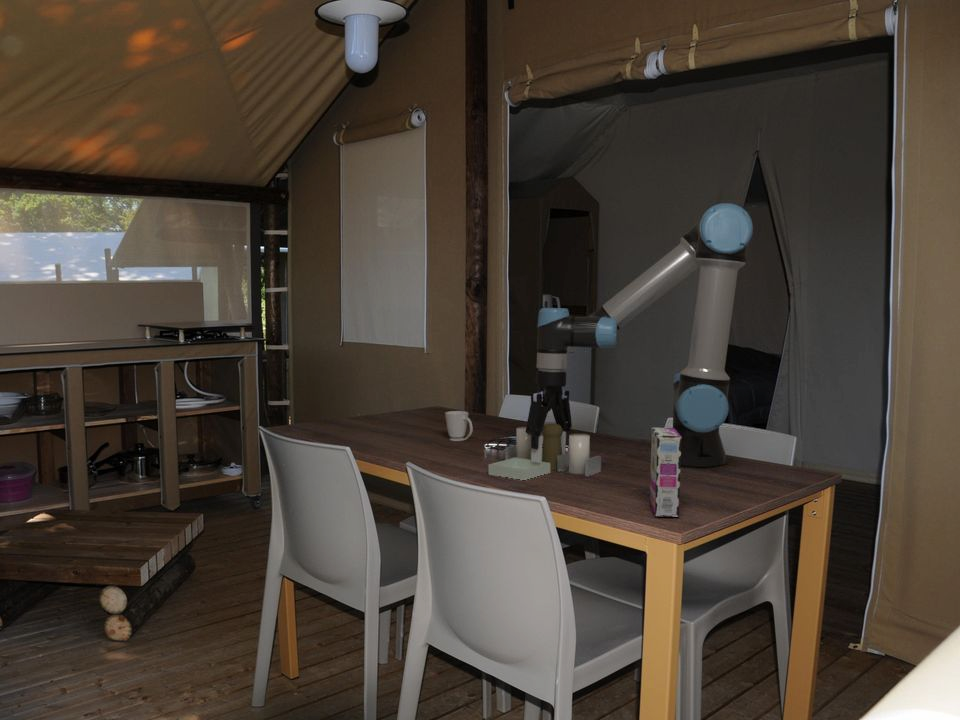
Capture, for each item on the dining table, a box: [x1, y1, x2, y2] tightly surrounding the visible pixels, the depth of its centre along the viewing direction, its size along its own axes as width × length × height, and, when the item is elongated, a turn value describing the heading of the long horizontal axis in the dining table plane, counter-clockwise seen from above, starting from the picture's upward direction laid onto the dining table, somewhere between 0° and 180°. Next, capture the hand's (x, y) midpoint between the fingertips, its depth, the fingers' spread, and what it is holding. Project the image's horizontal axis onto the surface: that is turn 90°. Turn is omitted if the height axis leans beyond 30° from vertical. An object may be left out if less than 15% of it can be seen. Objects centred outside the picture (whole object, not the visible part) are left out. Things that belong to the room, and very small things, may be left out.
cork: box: [542, 424, 563, 471], centre depth 213 cm, size 6×6×11 cm
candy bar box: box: [649, 427, 682, 518], centre depth 172 cm, size 11×5×16 cm, turn 175°
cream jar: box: [568, 433, 591, 475], centre depth 208 cm, size 5×5×9 cm
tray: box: [488, 457, 551, 481], centre depth 206 cm, size 11×11×2 cm
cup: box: [444, 410, 474, 442], centre depth 250 cm, size 7×10×8 cm
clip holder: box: [504, 444, 602, 477], centre depth 213 cm, size 25×6×4 cm, turn 51°
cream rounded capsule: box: [515, 426, 531, 460], centre depth 218 cm, size 5×5×9 cm
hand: (548, 459), depth 212 cm, fingers open, 10 cm apart
